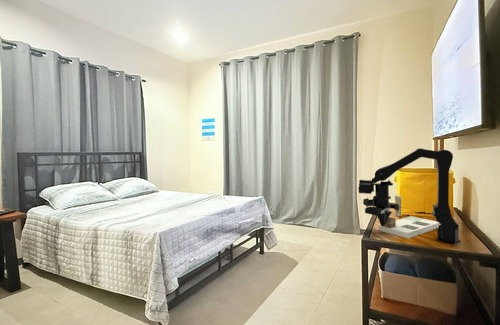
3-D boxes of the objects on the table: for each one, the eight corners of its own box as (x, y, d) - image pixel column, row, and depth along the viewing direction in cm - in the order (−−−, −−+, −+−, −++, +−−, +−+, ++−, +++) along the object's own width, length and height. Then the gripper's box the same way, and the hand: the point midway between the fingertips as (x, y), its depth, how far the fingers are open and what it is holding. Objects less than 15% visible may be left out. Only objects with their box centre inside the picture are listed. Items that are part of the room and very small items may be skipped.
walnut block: (395, 226, 124) (395, 218, 124) (390, 228, 122) (390, 220, 122) (387, 224, 128) (387, 216, 128) (382, 226, 126) (382, 218, 126)
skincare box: (406, 214, 153) (405, 194, 153) (409, 216, 149) (409, 196, 149) (394, 214, 154) (394, 195, 153) (398, 216, 150) (398, 196, 149)
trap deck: (440, 227, 128) (440, 222, 128) (408, 238, 115) (408, 233, 115) (410, 220, 141) (410, 216, 141) (378, 230, 127) (378, 225, 127)
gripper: (378, 190, 134) (379, 219, 135) (354, 194, 125) (355, 225, 126) (399, 192, 124) (400, 224, 125) (375, 197, 115) (376, 231, 116)
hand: (382, 226), depth 123 cm, fingers closed
